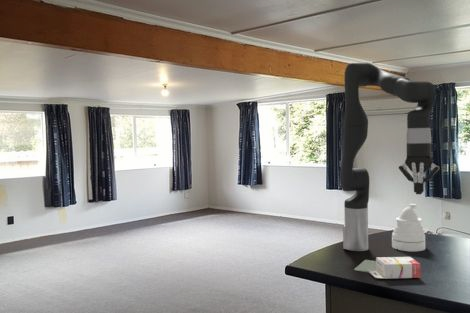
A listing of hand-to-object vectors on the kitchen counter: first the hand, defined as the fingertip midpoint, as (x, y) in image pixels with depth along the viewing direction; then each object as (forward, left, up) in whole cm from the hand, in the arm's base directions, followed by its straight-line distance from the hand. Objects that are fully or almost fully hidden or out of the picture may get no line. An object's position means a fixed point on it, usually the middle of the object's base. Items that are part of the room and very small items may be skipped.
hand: (418, 194), depth 147 cm
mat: (-12, 0, -27) cm, 29 cm away
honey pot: (-10, +34, -27) cm, 45 cm away
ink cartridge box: (-1, -2, -24) cm, 24 cm away
